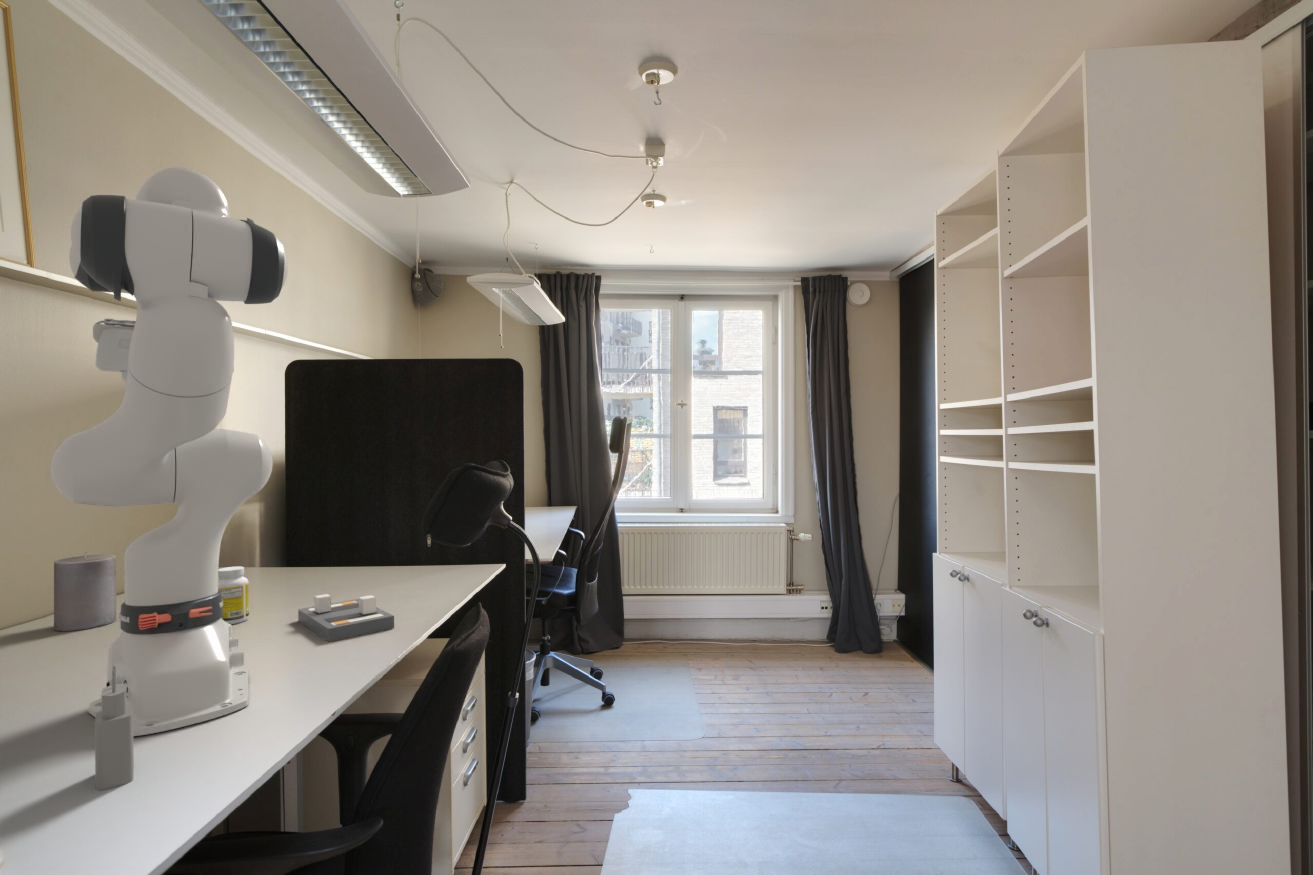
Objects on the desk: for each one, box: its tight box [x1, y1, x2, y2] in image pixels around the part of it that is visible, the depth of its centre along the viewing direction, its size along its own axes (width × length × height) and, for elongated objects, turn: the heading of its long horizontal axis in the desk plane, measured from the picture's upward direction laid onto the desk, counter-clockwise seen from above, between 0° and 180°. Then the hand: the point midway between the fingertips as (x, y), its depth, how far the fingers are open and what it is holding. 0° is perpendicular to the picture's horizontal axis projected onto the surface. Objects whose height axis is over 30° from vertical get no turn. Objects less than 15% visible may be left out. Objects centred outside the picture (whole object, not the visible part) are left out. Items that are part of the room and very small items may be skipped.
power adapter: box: [94, 666, 135, 791], centre depth 71 cm, size 3×5×12 cm, turn 39°
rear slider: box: [313, 593, 332, 613], centre depth 130 cm, size 3×2×3 cm
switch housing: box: [297, 598, 395, 642], centre depth 129 cm, size 20×12×2 cm, turn 43°
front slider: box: [358, 594, 377, 615], centre depth 128 cm, size 3×2×3 cm
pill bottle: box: [218, 565, 250, 625], centre depth 133 cm, size 6×6×11 cm
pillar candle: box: [53, 551, 117, 632], centre depth 132 cm, size 10×10×15 cm
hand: (168, 398), depth 118 cm, fingers open, 8 cm apart
